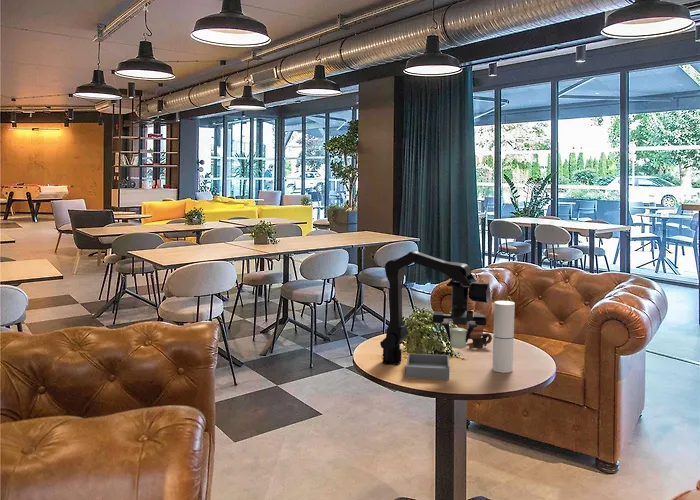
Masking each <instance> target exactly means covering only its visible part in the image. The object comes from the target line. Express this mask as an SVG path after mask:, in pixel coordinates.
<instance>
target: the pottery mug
mask: <svg viewBox="0 0 700 500" xmlns="http://www.w3.org/2000/svg"><path fill="white" fill-rule="evenodd" d="M466 332H467V330H466ZM487 338H488V339H487ZM468 340H471V341H472V342H469V343H468V348H469V349H470V350H471V349H482V350H483V349H484V347H486V346H487V345H489V344H491V341H493V335H492V334H490V332H489V333H487V332H485V333H484V331H483V329H480V328H479V329H477V328H473V330H472V332H471V334H470V336H469V339H468Z"/></svg>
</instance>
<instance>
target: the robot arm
mask: <svg viewBox="0 0 700 500" xmlns="http://www.w3.org/2000/svg"><path fill="white" fill-rule="evenodd" d="M412 264H416V265H420V266H422V267H425V268H428V269H431V270H434V271H436V272H440V273H442V274H443V275H445V276H446V277H447V278H449V279H450V281H449V282H447V283H445V285H446V287H451V301H450V302H451V303H450V305H451V307H450V309H451V310H450V314H449V315H444V314H445V312H443V311H433V313H432V320H431V321H432V322H431V323H433V324H437V323H441V325H442V326H444V327H445V329H446V332H447V335H448V339H449V342H450V328H449V321H451V322H452V325H455V326H458V325H460V326H461V325H462V326H466V325H467V327H466V331H467V332H466V344H467V343H468V341H469V340H470V339H469V336H470V334H471V332H472V330H473V329H475V328H478V326H486V325H487V316H486V315H485V313H474V311H473V310H468V309H469V307H468V306H469V304H468V303H469V300H471V301H472V302H478V303H485V304H489V303H490V300H491V288H490V283H489V282H477V280H476V278H475V277H474V276H473V273H472V270H471V267H470V266H469V265H468V264H466V263H462V262H457V261H447V260H444V259H441V258H438V257H434V256H432V255H429V254H425V253H422V252H419V250H413V251H409V252H408V253H407V254H405V255H403V256H401V257H397V258H393V259H391V260H388V261H387V262H386V263H385V265H384V272H385V277H386V279H387V281H388V283H389V322H388V326H387V327H386V333H385V338H384V339H382V340H381V341H380V342H379V344H380V347H381V349H382V364H383V365H384V364H385V365H387V364H388V365H400V362H401V361H402V349H401V344H403V342H404V340H405V339H406V338H407V336H408V335H409V331H408V327H409V324H408V323H405V322H404V320H403V281H404V278H405V273H406V268H408V267H409V266H411V265H412Z"/></svg>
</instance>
